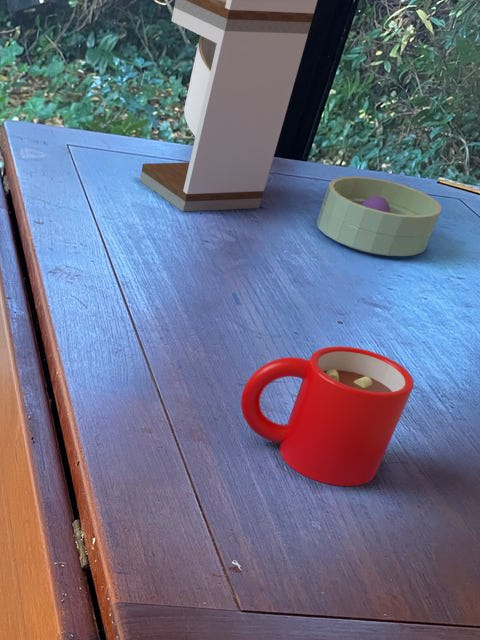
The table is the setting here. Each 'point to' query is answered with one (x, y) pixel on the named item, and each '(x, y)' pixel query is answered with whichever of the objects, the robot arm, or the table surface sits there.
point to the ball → (377, 204)
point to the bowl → (378, 216)
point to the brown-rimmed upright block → (234, 99)
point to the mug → (333, 412)
